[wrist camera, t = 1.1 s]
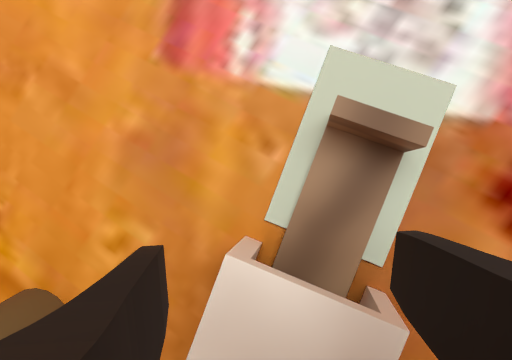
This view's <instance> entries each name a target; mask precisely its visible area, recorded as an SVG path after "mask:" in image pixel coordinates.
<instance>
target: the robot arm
mask: <svg viewBox="0 0 512 360" xmlns="http://www.w3.org/2000/svg"><path fill="white" fill-rule="evenodd" d="M390 289H391V291H392V293H393V295H394V297H395V299H396V301H397V302H398V304H399V306H400V308H401V309H402V311H403V313H404V314H405V316H406V317H407V319H408V320H409V322H410V323H411V324H412V326H413V327H414V328H415V330H416V331H417V332H418V334H419V335H420V336H421V338H422V339H423V340H424V341H425V343H426V344H427V345H428V347H429V348H430V349H431V351H432V352H433V353H434V354H435V356H436V357H437V358H438V360H512V261H509V260H506V259H503V258H500V257H497V256H494V255H491V254H488V253H485V252H482V251H479V250H476V249H473V248H470V247H468V246H465V245H462V244H459V243H456V242H453V241H450V240H447V239H444V238H441V237H438V236H435V235H432V234H428V233H424V232H420V231H399V232H397V234H396V243H395V251H394V259H393V268H392V276H391V284H390ZM168 307H169V303H168V292H167V281H166V270H165V258H164V247H163V245H157V246H142V247H140V248H139V249H138V250H136V251H135V252H134V253H132V254H131V255H130V256H129V257H128V258H126V259H125V260H124V261H123V262H122V263H120V264H119V265H118V266H117V267H115V268H114V269H113V270H112V271H110V272H109V273H108V274H107V275H105V276H104V277H103V278H101V279H100V280H99V281H97V282H96V283H95V284H93V285H92V286H90V287H89V288H88V289H86V290H85V291H83V292H82V293H81V294H79V295H78V296H77V297H75V298H74V299H72V300H71V301H69V302H68V303H66V304H65V305H63V306H61V307H60V308H58V309H57V310H55V311H53V312H51V313H50V314H48V315H46V316H45V317H43V318H41V319H40V320H38V321H36V322H34V323H33V324H31V325H29V326H27V327H25V328H23V329H21V330H19V331H17V332H15V333H13V334H11V335H9V336H7V337H5V338H3V339H1V340H0V360H160V356H161V352H162V348H163V343H164V339H165V333H166V325H167V316H168Z"/></svg>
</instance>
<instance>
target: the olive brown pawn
mask: <svg viewBox="0 0 512 360" xmlns="http://www.w3.org/2000/svg"><path fill="white" fill-rule="evenodd" d="M63 305H64V304H63V303H62V302H61V301H60V299H59V298H58V297H57V296H55V295H53V294H52V293H50V292H48V291H46V290H41V289H37V288H34V289H27V290H23V291H21V292H20V293H18V294H16V295H14V296H12V297H11V298H9V299H7V300H5V301H4V302H2V303H0V340H1V339H3V338H5V337H7V336H9V335H11V334H13V333H15V332H17V331H19V330H21V329H23V328H25V327H27V326H29V325H31V324H33V323H34V322H36V321H38V320H40V319H41V318H43V317H45V316H46V315H48V314H50V313H51V312H53V311H55V310H57V309H58V308H60V307H61V306H63Z"/></svg>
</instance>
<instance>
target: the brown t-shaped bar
mask: <svg viewBox="0 0 512 360" xmlns="http://www.w3.org/2000/svg"><path fill="white" fill-rule="evenodd" d="M433 129H434V127H432V126H429V125H426V124H423V123H420V122H417V121H414V120H411V119H408V118H405V117H402V116H399V115H396V114H393V113H390V112H388V111H385V110H382V109H379V108H376V107H373V106H370V105H367V104H364V103H361V102H358V101H355V100H352V99H349V98H346V97H343V96H340V95H337V98H336V100H335V103H334V106H333V108H332V111H331V113H330V116H329V120H328V123H327V126H326V128H325V131H324V134H323V136H322V139H321V141H320V144H319V147H318V149H317V152H316V154H315V157H314V160H313V162H312V165H311V167H310V170H309V173H308V175H307V178H306V180H305V183H304V186H303V188H302V191H301V193H300V196H299V199H298V201H297V204H296V206H295V209H294V212H293V214H292V217H291V219H290V222H289V225H288V227H287V230H286V232H285V235H284V238H283V240H282V243H281V245H280V248H279V250H278V253H277V256H276V258H275V261H274V263H273V266H272V268H274V269H277V270H279V271H281V272H284V273H286V274H288V275H291V276H293V277H296V278H298V279H300V280H303V281H305V282H307V283H310V284H312V285H315V286H317V287H319V288H322V289H324V290H326V291H329V292H331V293H334V294H336V295H338V296H341V297H343V298H346V296H347V293H348V291H349V288H350V286H351V283H352V281H353V278H354V276H355V273H356V271H357V268H358V266H359V263H360V261H361V258H362V256H363V253H364V251H365V249H366V246H367V244H368V241H369V239H370V236H371V234H372V231H373V229H374V226H375V224H376V221H377V219H378V216H379V214H380V211H381V209H382V206H383V204H384V201H385V199H386V196H387V194H388V191H389V189H390V186H391V184H392V181H393V179H394V176H395V174H396V172H397V169H398V167H399V164H400V162H401V159H402V157H403V154H404V152H408V151H412V150H416V149H420V148H424V147H426V146H427V144H428V141H429V139H430V136H431V134H432V131H433Z"/></svg>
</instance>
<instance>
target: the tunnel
mask: <svg viewBox="0 0 512 360" xmlns="http://www.w3.org/2000/svg"><path fill="white" fill-rule="evenodd" d="M261 245H262V242H260V241H257V240H255V239H253V238H250V237H248V236H245V237H244V238H243V239H242V240H241V241H239V242H238V243H237V244H236V245H235V246H234V247H233V248H232V249H231V250H230V251H229V252H227V253H226V255H225V257H224V260H223V263H222V265H221V268H220V271H219V273H218V276H217V279H216V281H215V284H214V287H213V289H212V292H211V295H210V297H209V300H208V303H207V305H206V308H205V311H204V313H203V316H202V319H201V321H200V324H199V327H198V329H197V332H196V335H195V337H194V340H193V343H192V345H191V348H190V351H189V353H188V356H187V359H186V360H398V359H399V357H400V355H401V352H402V350H403V347H404V345H405V343H406V340H407V338H408V335H409V333H410V331H409V330H408V328H407V327H406V325H405V323H404V322H403V320H402V319H401V317H400V316H399V314H398V312H397V311H396V309H395V308H394V306H393V305H392V303H391V301H390V300H389V298H388V297H387V295H386V294H385V293H384V292H381V291H379V290H376V289H374V288H371V287H369V286H367V287H366V289H365V291H364V294H363V296H362V299H361V301H360V304H357V303H355V302H353V301H350V300H348V299H345V298H343V297H341V296H338V295H336V294H334V293H331V292H329V291H326V290H324V289H322V288H319V287H317V286H315V285H312V284H310V283H307V282H305V281H303V280H300V279H298V278H296V277H293V276H291V275H288V274H286V273H284V272H281V271H279V270H277V269H274V268H272V267H269V266H267V265H265V264H262V263H260V262H258V261H255V260H256V258H257V255H258V253H259V250H260V247H261Z"/></svg>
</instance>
